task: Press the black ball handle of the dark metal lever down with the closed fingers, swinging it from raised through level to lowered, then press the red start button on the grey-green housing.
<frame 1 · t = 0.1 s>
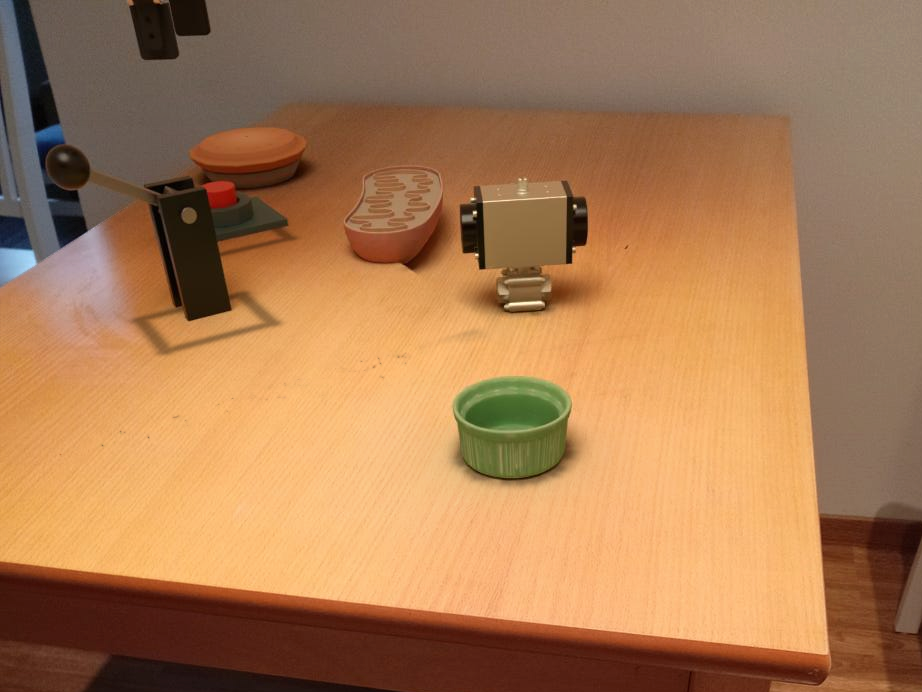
hand: (178, 46, 89), 23 cm above the table, tool pointing down, fingers open, 9 cm apart
button box: (226, 237, 119), on the table
bracket: (205, 321, 101), on the table
ramekin: (513, 455, 79), on the table
anatomical model: (401, 243, 116), on the table
button: (218, 195, 116), point 5 cm above the table, slide at 0.1 cm
lever: (123, 187, 90), point 14 cm above the table, hinge at 30.0°
pie: (254, 177, 137), on the table
pneumatic valve: (523, 305, 101), on the table
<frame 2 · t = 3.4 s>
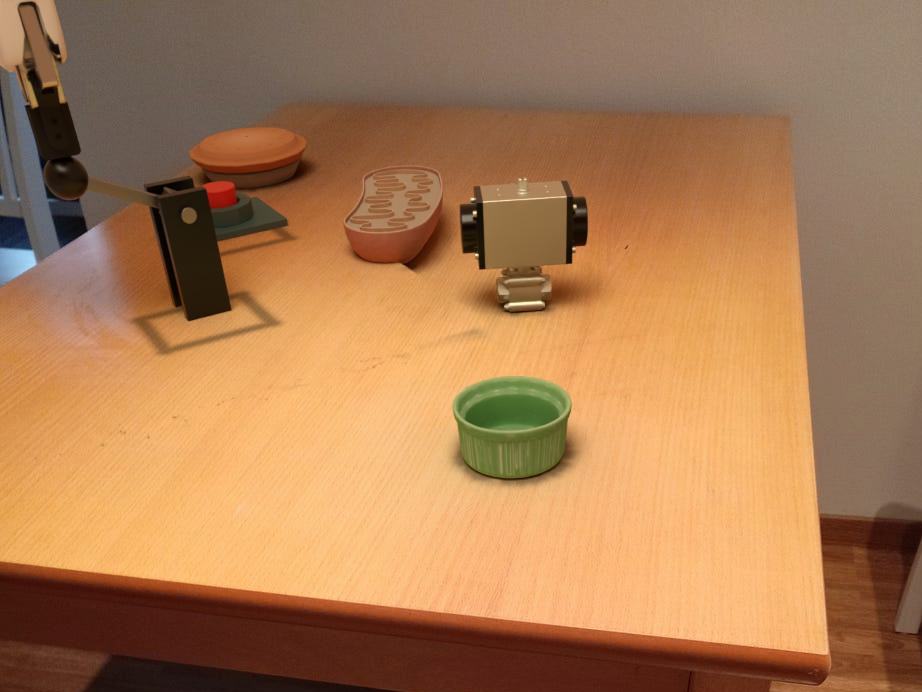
hand: (61, 154, 86), 17 cm above the table, tool pointing down, fingers closed
lever: (122, 192, 91), point 13 cm above the table, hinge at 25.2°, touching gripper
everything else where it was.
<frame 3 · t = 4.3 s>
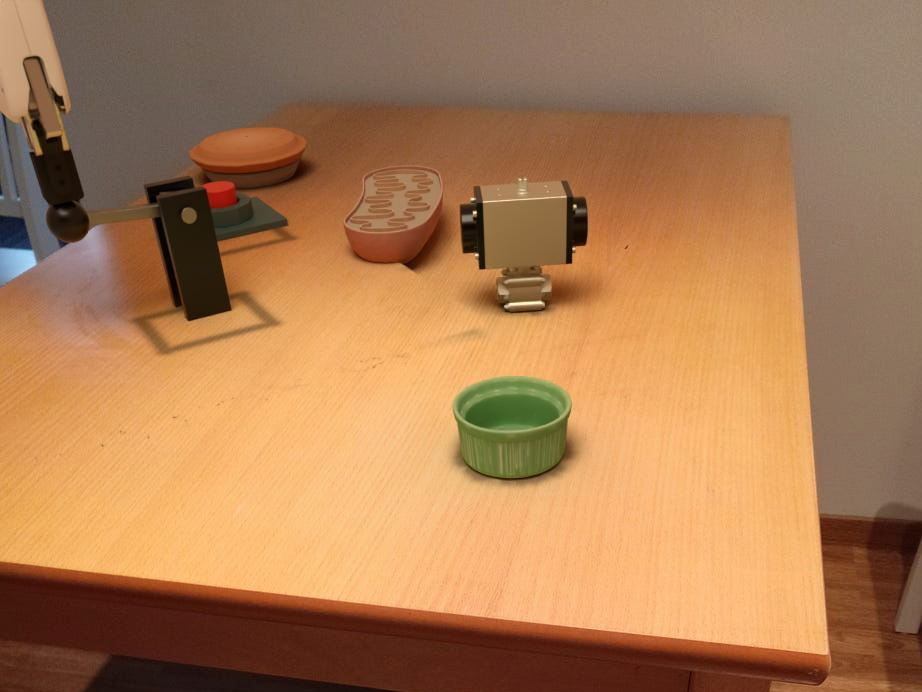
hand: (64, 199, 88), 14 cm above the table, tool pointing down, fingers closed
lever: (122, 214, 92), point 11 cm above the table, hinge at 4.4°, touching gripper
everything else where it was.
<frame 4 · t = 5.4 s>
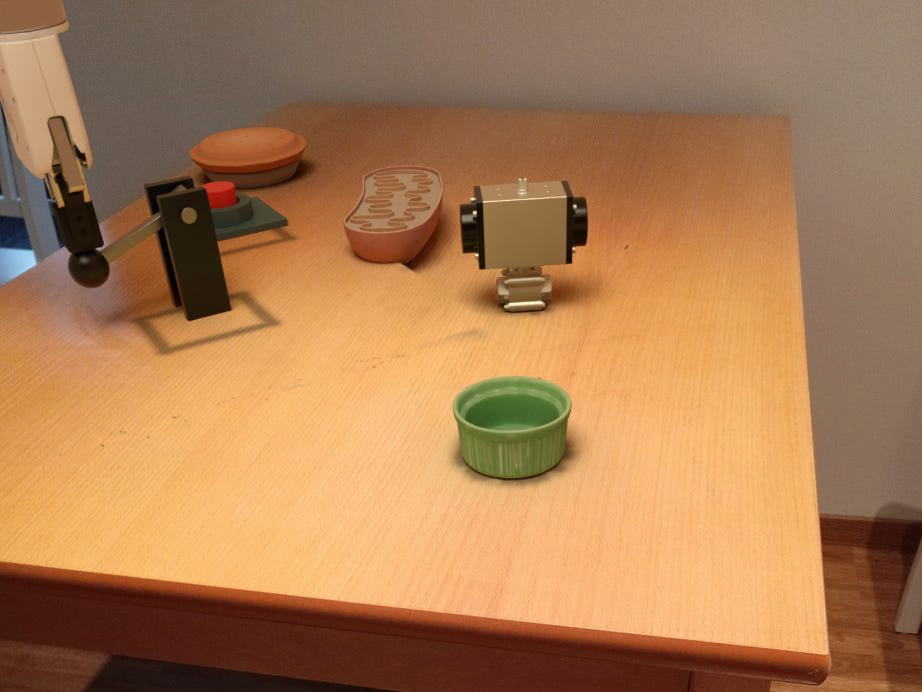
hand: (85, 247, 91), 9 cm above the table, tool pointing down, fingers closed
lever: (132, 238, 93), point 9 cm above the table, hinge at -20.6°, touching gripper
everything else where it was.
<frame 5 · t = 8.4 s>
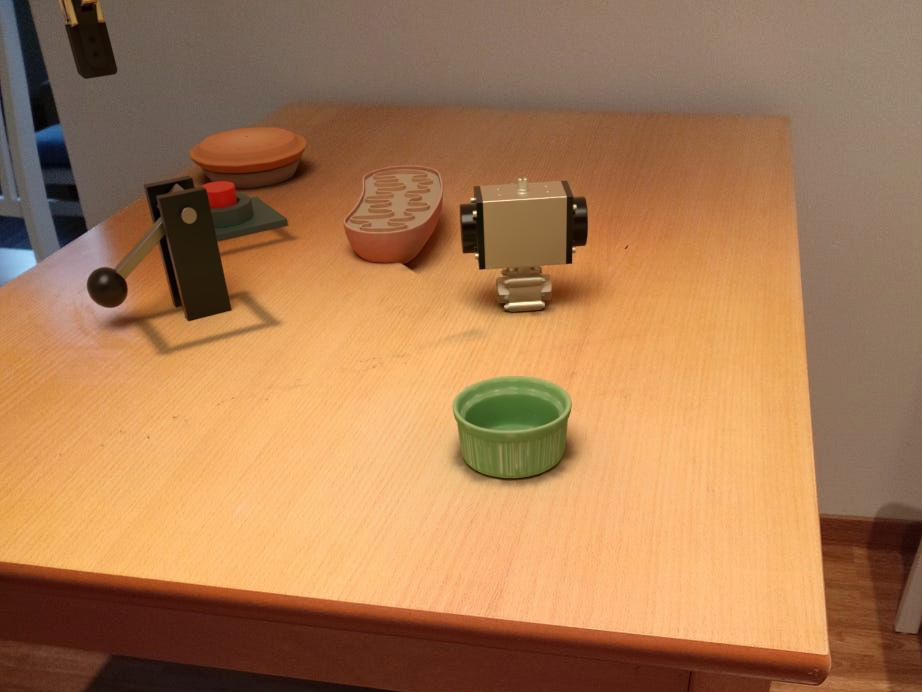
hand: (98, 74, 90), 21 cm above the table, tool pointing down, fingers closed
lever: (141, 249, 94), point 8 cm above the table, hinge at -34.3°
everything else where it was.
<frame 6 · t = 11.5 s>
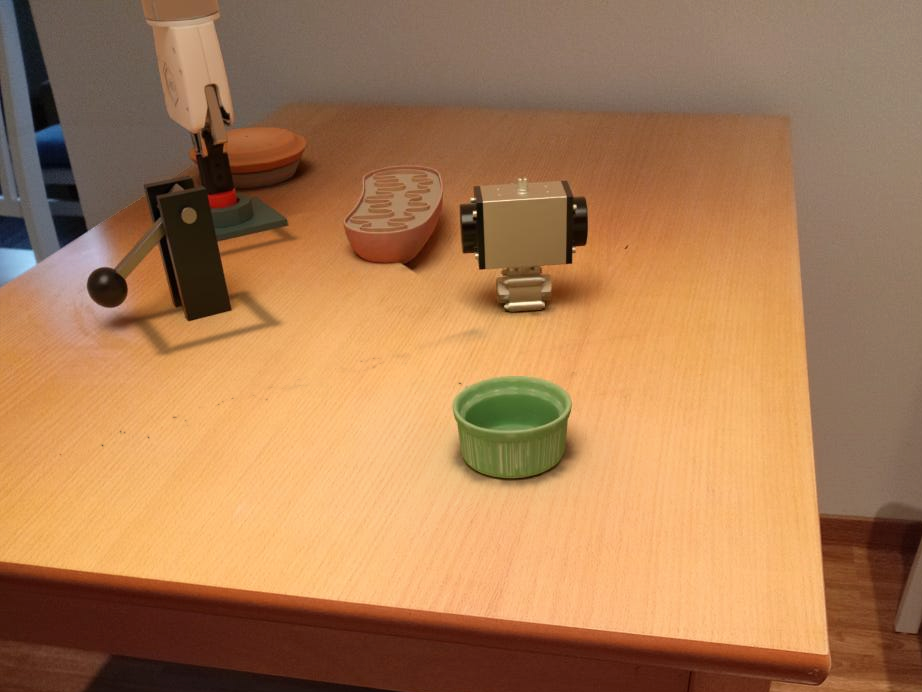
hand: (219, 190, 116), 5 cm above the table, tool pointing down, fingers closed
button: (219, 200, 116), point 4 cm above the table, slide at -0.4 cm, touching gripper
everything else where it was.
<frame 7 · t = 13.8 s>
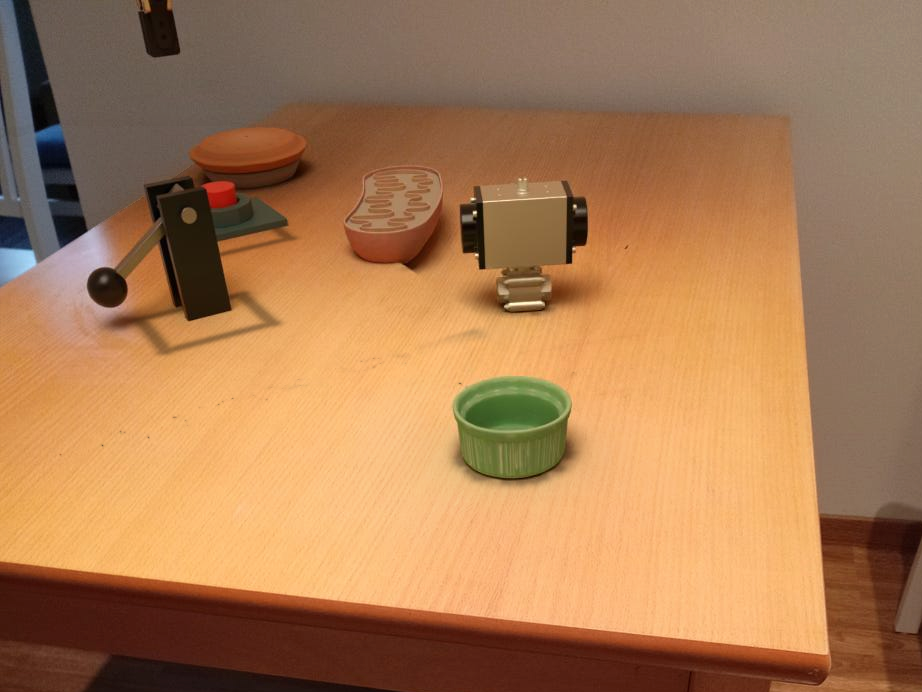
hand: (164, 54, 107), 19 cm above the table, tool pointing down, fingers closed
button: (218, 195, 116), point 5 cm above the table, slide at 0.1 cm
everything else where it was.
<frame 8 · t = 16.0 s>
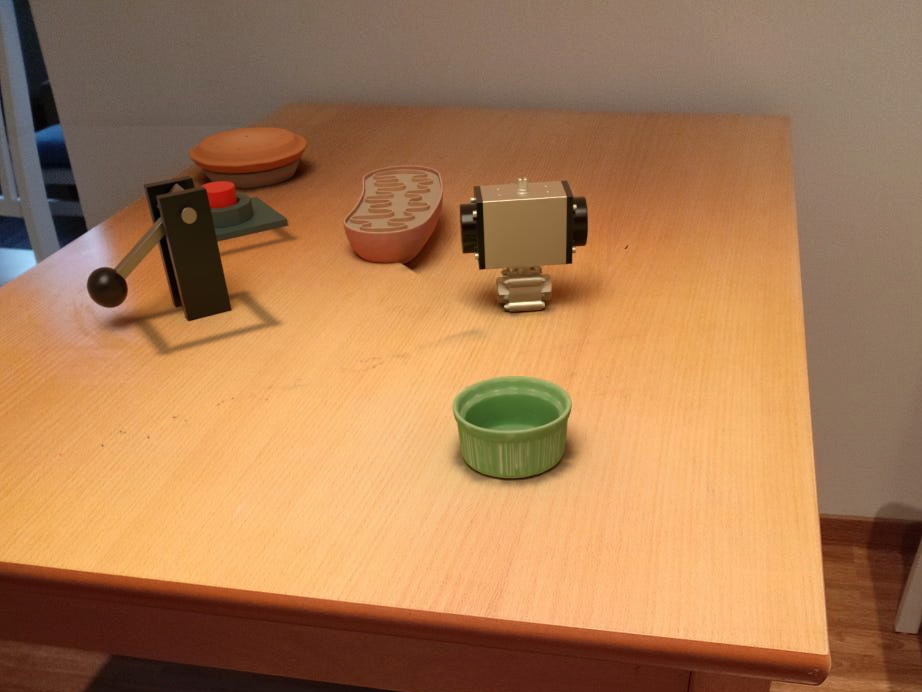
nothing on the table moved.
at the end: lever at -34° (first picture: +30°); button pushed in 1.1 cm at the most during the clip, back to where it started at the end; button slide at 0.1 cm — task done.
